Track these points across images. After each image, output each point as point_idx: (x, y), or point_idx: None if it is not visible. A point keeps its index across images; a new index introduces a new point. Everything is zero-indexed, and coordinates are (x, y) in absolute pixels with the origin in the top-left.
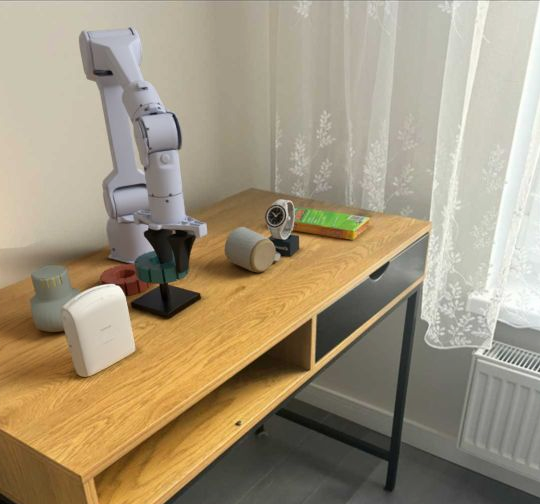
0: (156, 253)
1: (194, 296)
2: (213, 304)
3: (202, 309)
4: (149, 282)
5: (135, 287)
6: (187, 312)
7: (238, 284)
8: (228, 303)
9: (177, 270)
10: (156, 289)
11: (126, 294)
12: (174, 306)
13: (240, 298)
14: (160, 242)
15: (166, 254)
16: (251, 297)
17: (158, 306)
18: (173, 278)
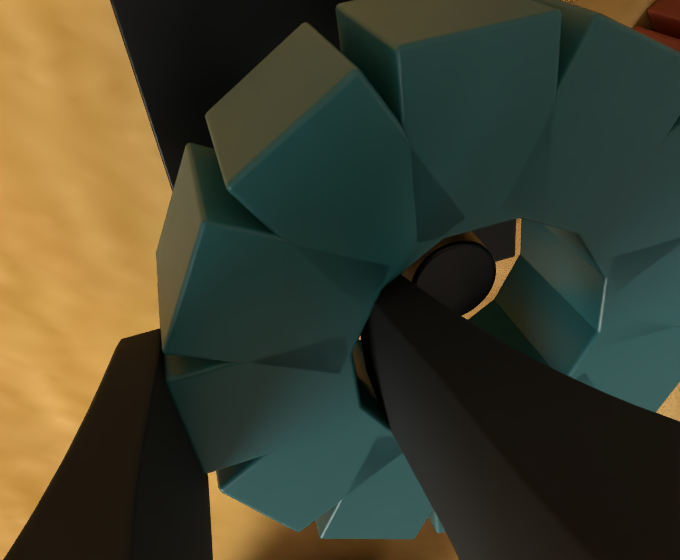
0: (503, 352)
1: None
2: (91, 330)
3: (78, 250)
4: (340, 9)
5: None
6: (113, 157)
7: None
8: (36, 393)
9: (156, 342)
10: None
11: (654, 24)
12: (178, 111)
13: (47, 460)
14: (527, 554)
15: (419, 427)
16: (14, 501)
17: (279, 23)
18: (165, 242)
